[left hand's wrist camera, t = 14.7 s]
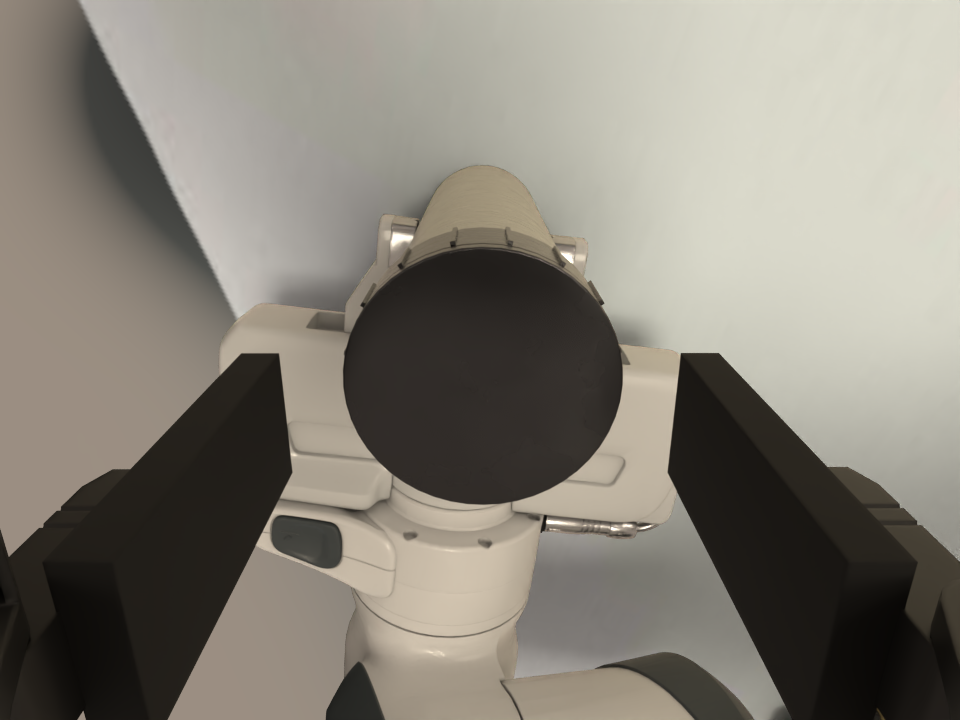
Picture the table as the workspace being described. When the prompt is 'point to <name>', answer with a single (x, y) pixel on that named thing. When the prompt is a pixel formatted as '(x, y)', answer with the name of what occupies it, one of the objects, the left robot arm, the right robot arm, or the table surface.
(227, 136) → the table surface
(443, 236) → the lid
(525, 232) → the jar
